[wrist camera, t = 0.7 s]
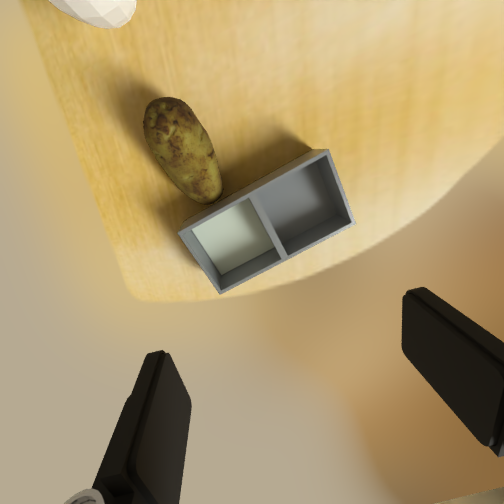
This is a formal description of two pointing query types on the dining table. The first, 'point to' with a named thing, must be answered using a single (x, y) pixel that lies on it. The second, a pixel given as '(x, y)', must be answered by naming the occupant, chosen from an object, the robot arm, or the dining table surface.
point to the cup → (98, 11)
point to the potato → (183, 149)
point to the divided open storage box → (269, 221)
